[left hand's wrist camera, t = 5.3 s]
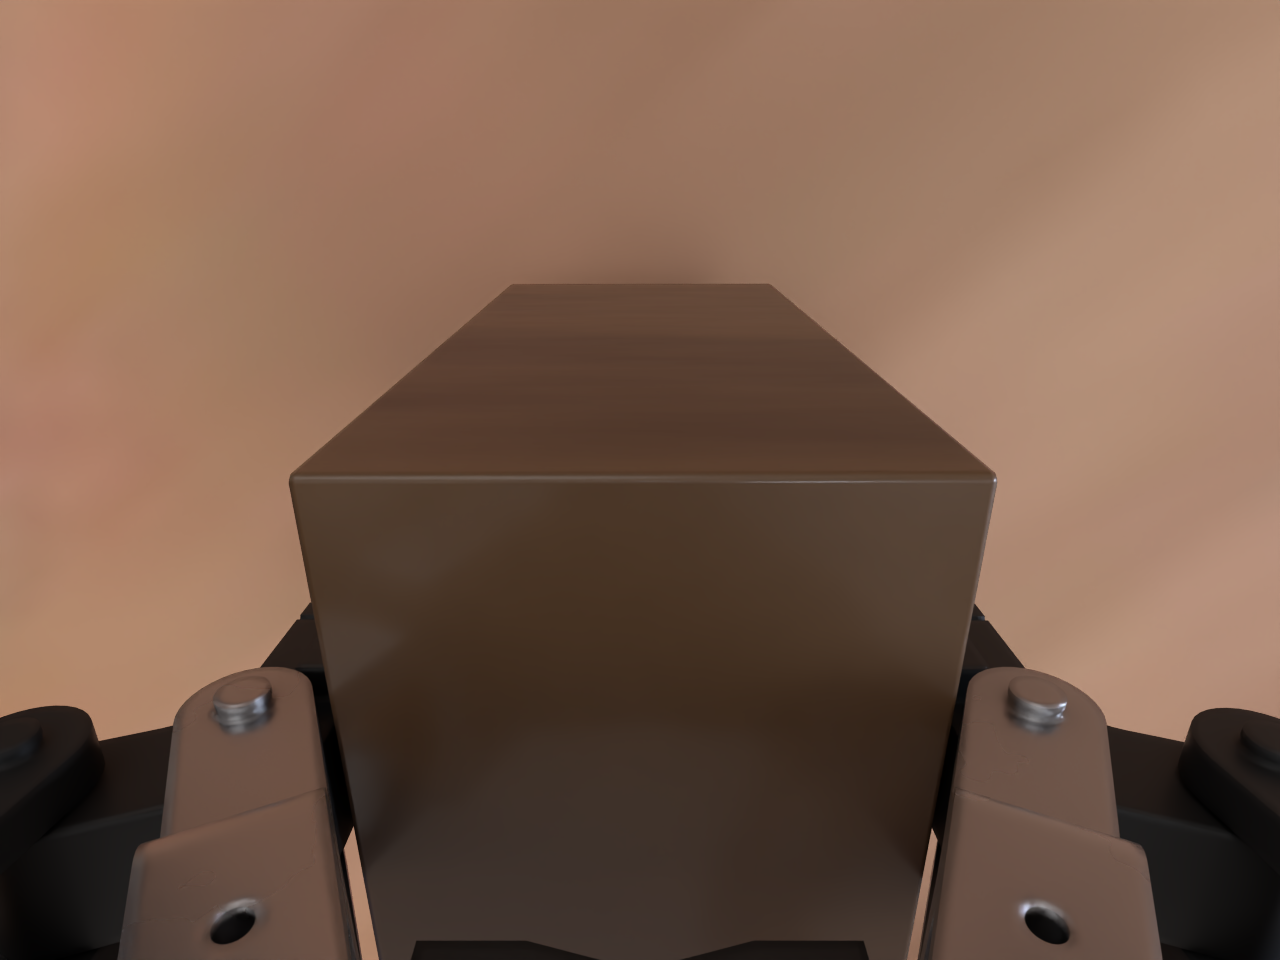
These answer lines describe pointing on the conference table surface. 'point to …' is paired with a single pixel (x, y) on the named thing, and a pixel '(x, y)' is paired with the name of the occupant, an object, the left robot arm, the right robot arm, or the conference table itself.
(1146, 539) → the conference table surface
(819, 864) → the box
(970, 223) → the conference table surface
